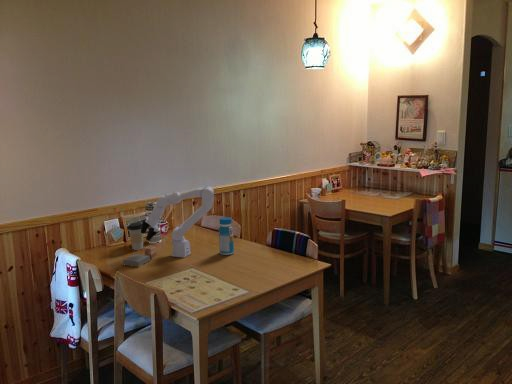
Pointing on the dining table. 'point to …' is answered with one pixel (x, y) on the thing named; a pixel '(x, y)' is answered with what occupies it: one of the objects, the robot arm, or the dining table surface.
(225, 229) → the beverage bottle
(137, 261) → the charcoal plinth
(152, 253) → the terracotta block
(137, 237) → the coffee cup
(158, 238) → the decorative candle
